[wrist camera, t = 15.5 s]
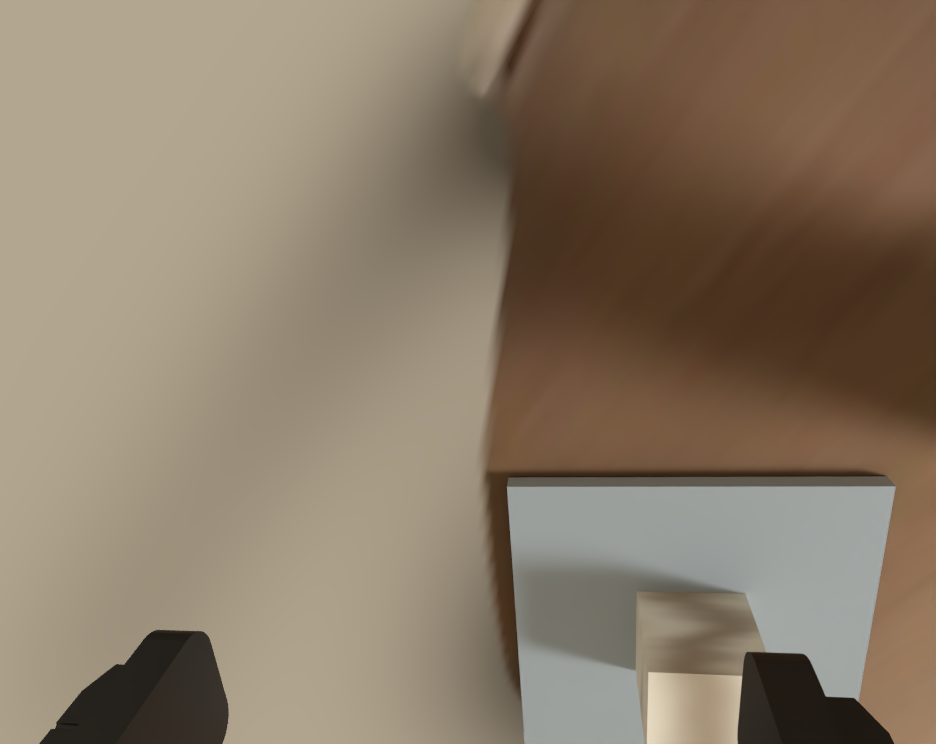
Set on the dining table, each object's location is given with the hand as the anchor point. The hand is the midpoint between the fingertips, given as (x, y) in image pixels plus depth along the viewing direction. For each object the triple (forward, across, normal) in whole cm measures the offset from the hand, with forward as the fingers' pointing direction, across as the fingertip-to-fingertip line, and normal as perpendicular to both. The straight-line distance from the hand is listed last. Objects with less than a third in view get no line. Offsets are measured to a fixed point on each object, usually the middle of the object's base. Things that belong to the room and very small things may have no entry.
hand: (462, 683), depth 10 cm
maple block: (+25, -8, +22) cm, 34 cm away
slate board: (+26, -8, +22) cm, 35 cm away
